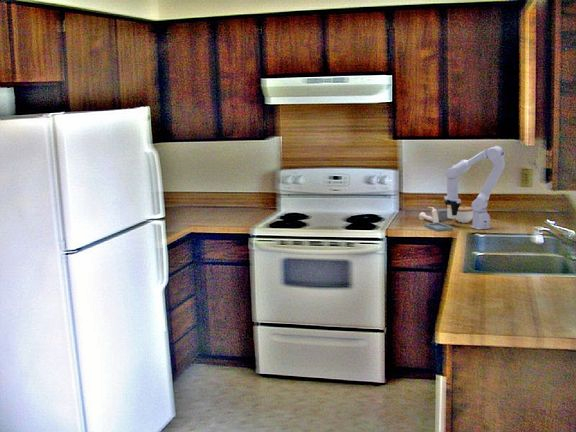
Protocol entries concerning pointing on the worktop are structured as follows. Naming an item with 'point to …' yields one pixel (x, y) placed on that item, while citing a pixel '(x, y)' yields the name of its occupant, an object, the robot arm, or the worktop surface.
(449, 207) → the cartridge
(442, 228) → the tray
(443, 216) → the block
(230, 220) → the worktop surface
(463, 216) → the lidded jar
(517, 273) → the worktop surface
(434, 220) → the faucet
